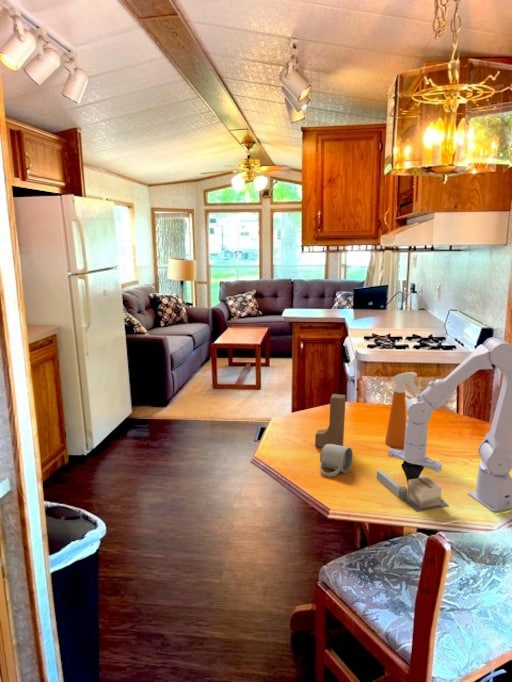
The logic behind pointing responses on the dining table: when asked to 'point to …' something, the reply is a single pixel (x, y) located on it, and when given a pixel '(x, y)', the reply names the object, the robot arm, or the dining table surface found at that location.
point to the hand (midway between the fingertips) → (411, 487)
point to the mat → (417, 508)
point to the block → (424, 492)
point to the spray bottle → (399, 410)
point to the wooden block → (333, 423)
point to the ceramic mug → (335, 459)
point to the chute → (393, 484)
